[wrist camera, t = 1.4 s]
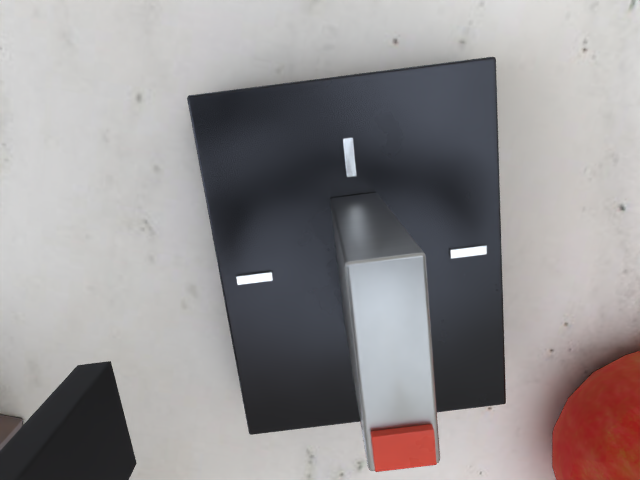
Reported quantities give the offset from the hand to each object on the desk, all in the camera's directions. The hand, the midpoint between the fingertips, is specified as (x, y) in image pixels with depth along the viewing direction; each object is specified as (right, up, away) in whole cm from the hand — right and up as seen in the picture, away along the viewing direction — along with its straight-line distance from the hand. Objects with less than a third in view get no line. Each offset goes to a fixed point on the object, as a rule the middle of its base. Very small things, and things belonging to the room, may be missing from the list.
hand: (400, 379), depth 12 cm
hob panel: (0, +3, +11) cm, 11 cm away
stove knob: (0, +2, +8) cm, 8 cm away
